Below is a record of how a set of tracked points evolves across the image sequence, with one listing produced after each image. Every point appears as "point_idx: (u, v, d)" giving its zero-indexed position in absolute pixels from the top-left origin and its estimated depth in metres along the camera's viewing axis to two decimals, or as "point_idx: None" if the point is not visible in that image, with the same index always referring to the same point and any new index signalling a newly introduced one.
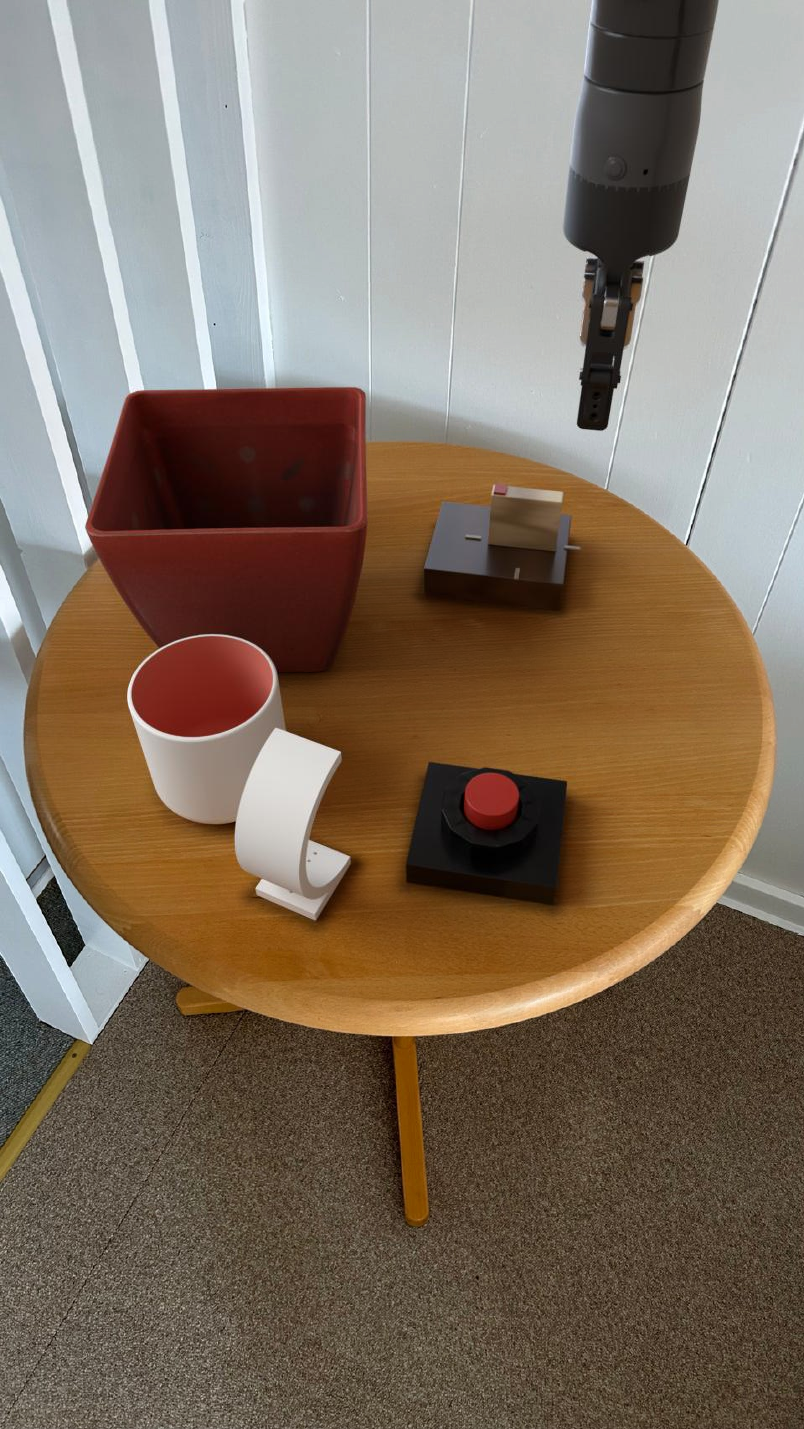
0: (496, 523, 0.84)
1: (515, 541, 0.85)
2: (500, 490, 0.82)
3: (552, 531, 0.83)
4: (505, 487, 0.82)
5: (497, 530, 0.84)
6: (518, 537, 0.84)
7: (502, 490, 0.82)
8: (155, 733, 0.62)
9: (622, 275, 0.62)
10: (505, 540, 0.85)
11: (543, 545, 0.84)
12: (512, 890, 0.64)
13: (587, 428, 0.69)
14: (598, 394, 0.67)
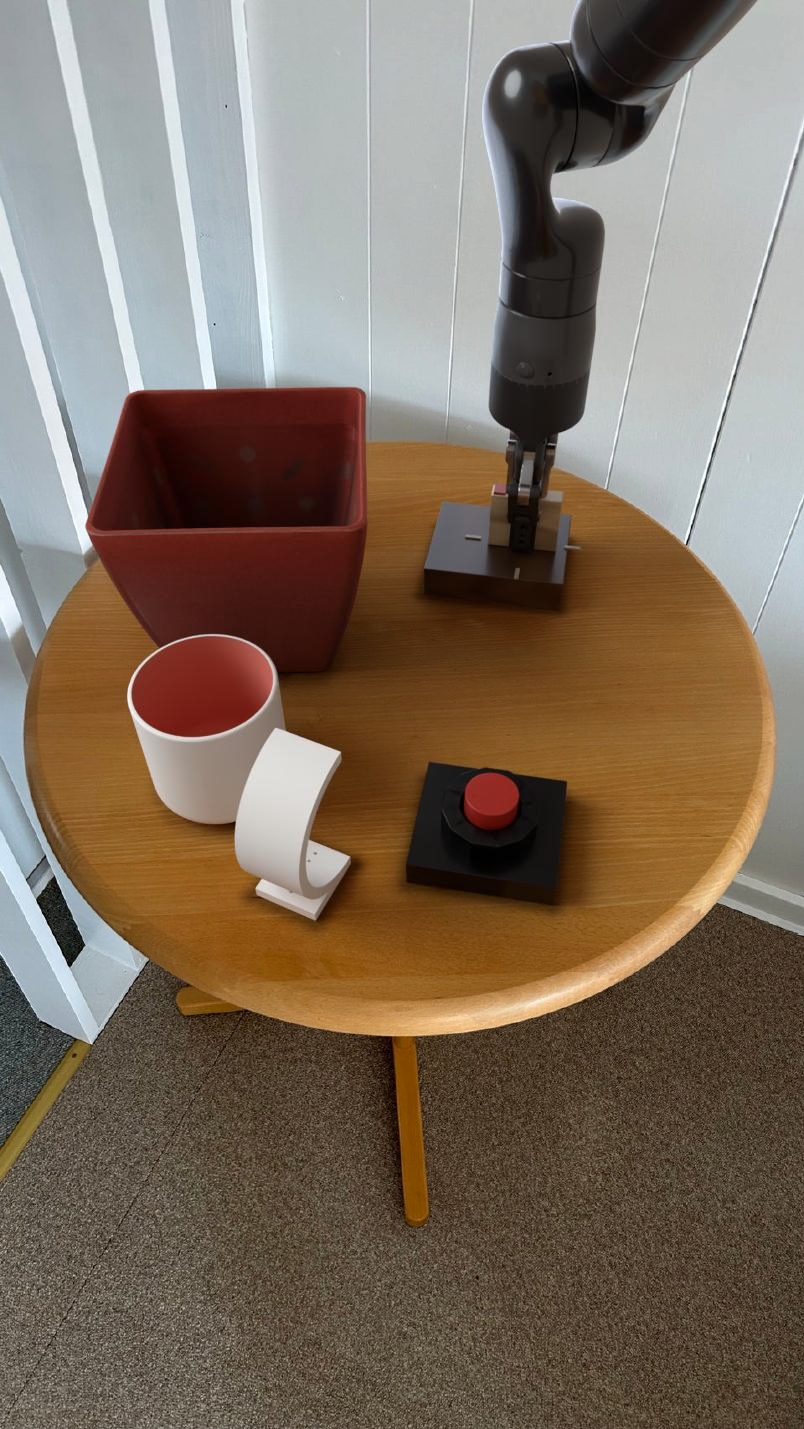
0: (496, 523, 0.84)
1: None
2: (500, 490, 0.82)
3: (552, 531, 0.83)
4: (505, 487, 0.82)
5: (497, 530, 0.84)
6: None
7: (502, 490, 0.82)
8: (155, 733, 0.62)
9: (536, 448, 0.74)
10: (505, 540, 0.85)
11: (543, 545, 0.84)
12: (512, 890, 0.64)
13: (517, 550, 0.85)
14: (524, 526, 0.82)
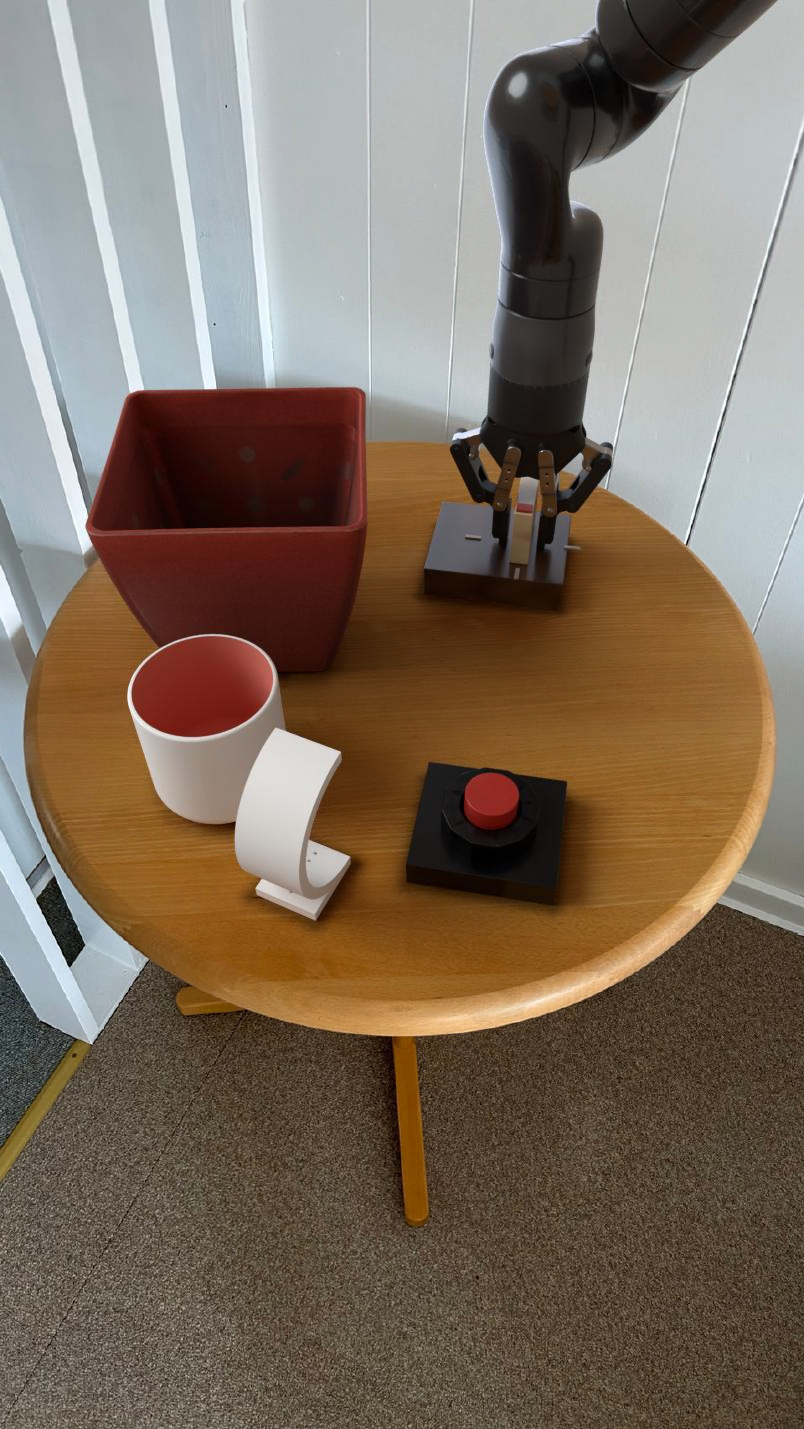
0: None
1: (531, 541, 0.85)
2: (528, 507, 0.80)
3: (536, 507, 0.86)
4: (523, 503, 0.80)
5: (530, 544, 0.83)
6: (532, 535, 0.84)
7: (528, 505, 0.80)
8: (155, 733, 0.62)
9: (582, 424, 0.77)
10: (530, 547, 0.84)
11: (534, 525, 0.86)
12: (512, 890, 0.64)
13: None
14: None
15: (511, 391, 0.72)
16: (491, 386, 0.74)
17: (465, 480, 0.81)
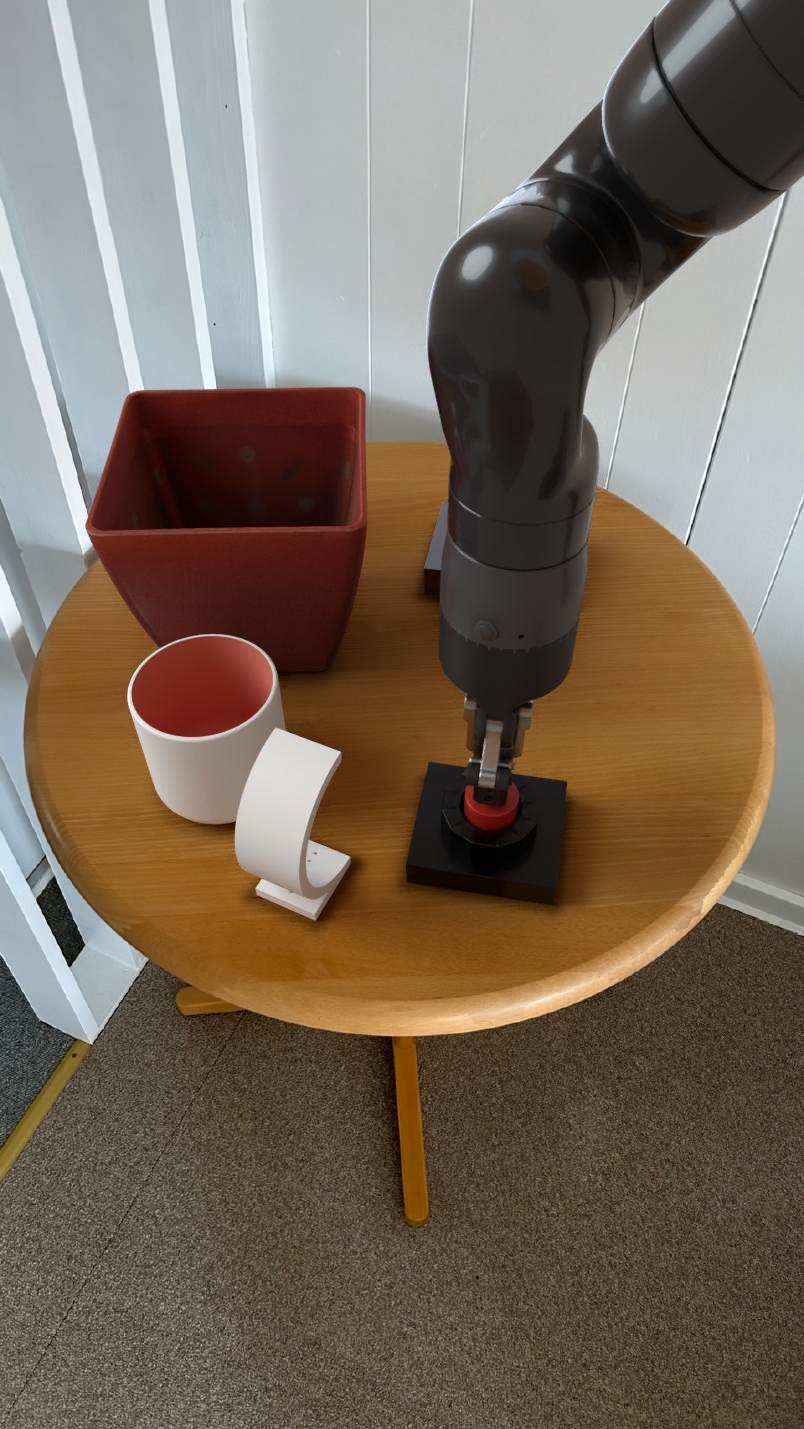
0: None
1: None
2: None
3: None
4: None
5: None
6: None
7: None
8: (155, 733, 0.62)
9: (504, 718, 0.53)
10: None
11: None
12: (512, 890, 0.64)
13: None
14: None
15: None
16: None
17: None
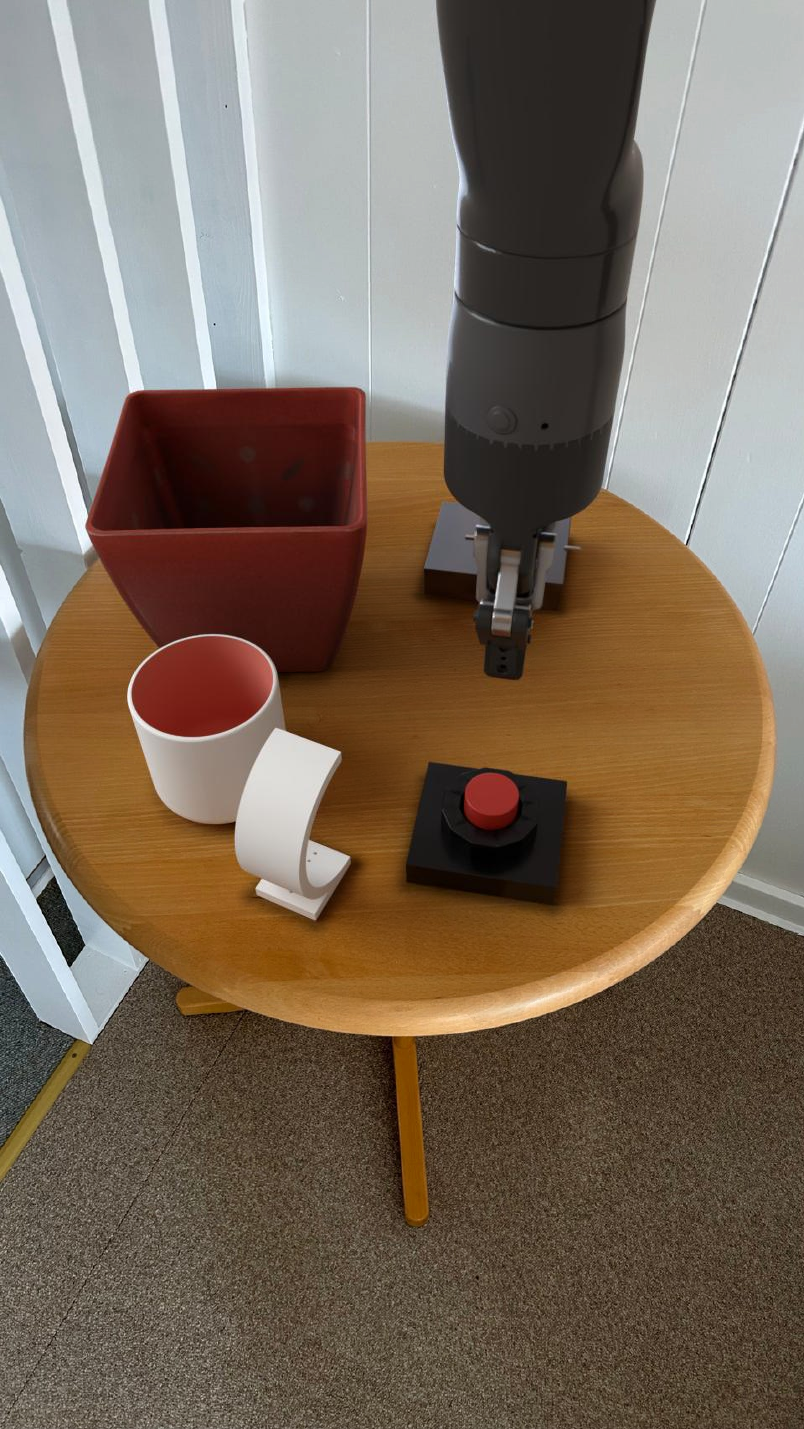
0: None
1: None
2: None
3: None
4: None
5: None
6: None
7: None
8: (155, 733, 0.62)
9: (522, 545, 0.44)
10: None
11: None
12: (512, 890, 0.64)
13: (498, 676, 0.55)
14: None
15: None
16: None
17: None
